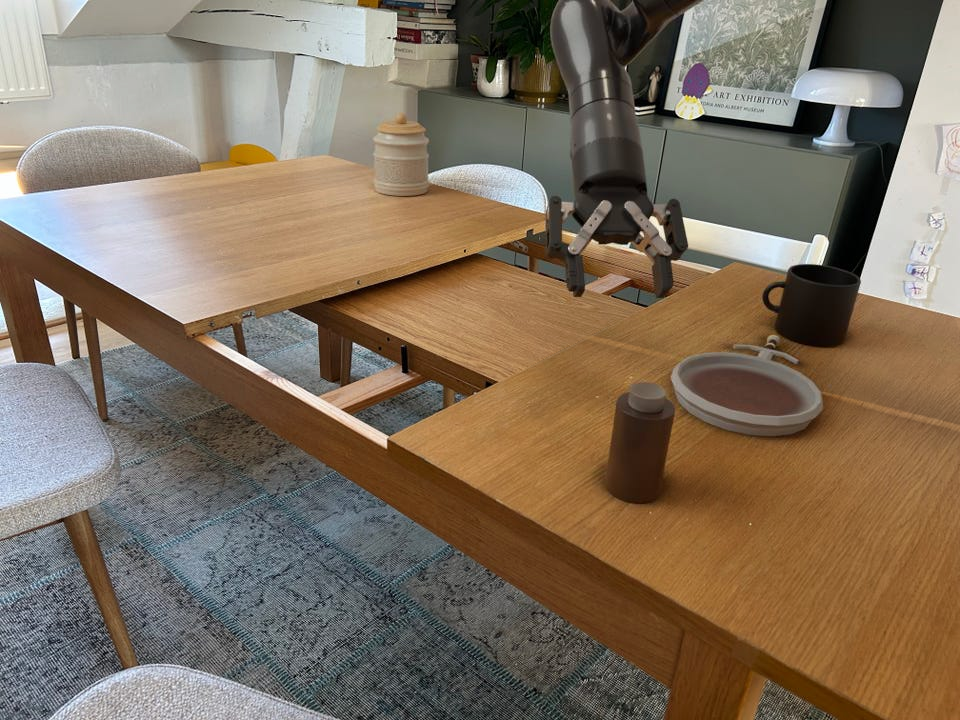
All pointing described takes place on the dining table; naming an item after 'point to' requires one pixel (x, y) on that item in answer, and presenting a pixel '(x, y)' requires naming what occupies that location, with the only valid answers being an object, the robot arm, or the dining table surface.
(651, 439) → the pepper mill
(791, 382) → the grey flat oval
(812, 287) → the mug
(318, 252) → the dining table surface
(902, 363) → the dining table surface
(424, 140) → the jar
